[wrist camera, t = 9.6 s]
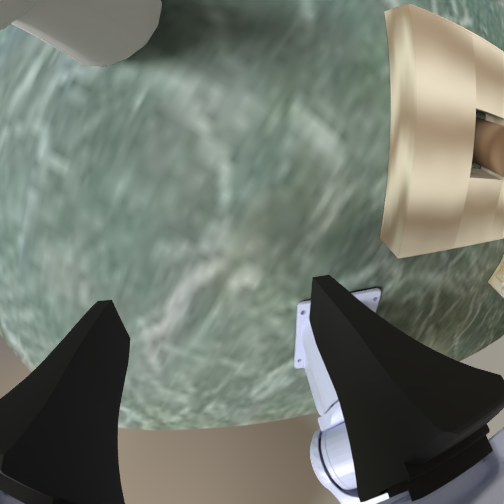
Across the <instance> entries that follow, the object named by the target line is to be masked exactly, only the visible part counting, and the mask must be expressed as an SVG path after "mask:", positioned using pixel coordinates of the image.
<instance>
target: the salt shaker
mask: <svg viewBox="0 0 504 504" xmlns="http://www.w3.org/2000/svg"><path fill="white" fill-rule="evenodd" d="M161 8H162V2H161V0H0V30H1V29H4V28H6V27H7V26H8V25H10V24H13V25H15V26H17V27H18V28H20V29H22V30H24V31H26V32H28V33H30V34H32V35H34V36H35V37H37V38H39V39H41V40H43V41H44V42H46V43H48V44H50V45H51V46H53V47H55V48H57V49H58V50H60V51H62V52H63V53H65V54H66V55H68V56H69V57H71V58H72V59H74V60H75V61H77V62H78V63H80V64H81V65H85V66H100V67H104V66H108V65H111V64H114V63H116V62H119V61H122V60H125V59H127V58H129V57H130V56H131V55H133V54H134V53H135V52H136V51H138V50H139V49H140V48H142V47H143V46H144V45H146V44H147V42H148V40H149V39H150V37H151V36H152V34H153V33H154V31H155V29H156V28H157V26H158V24H159V18H160V13H161Z"/></svg>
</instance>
